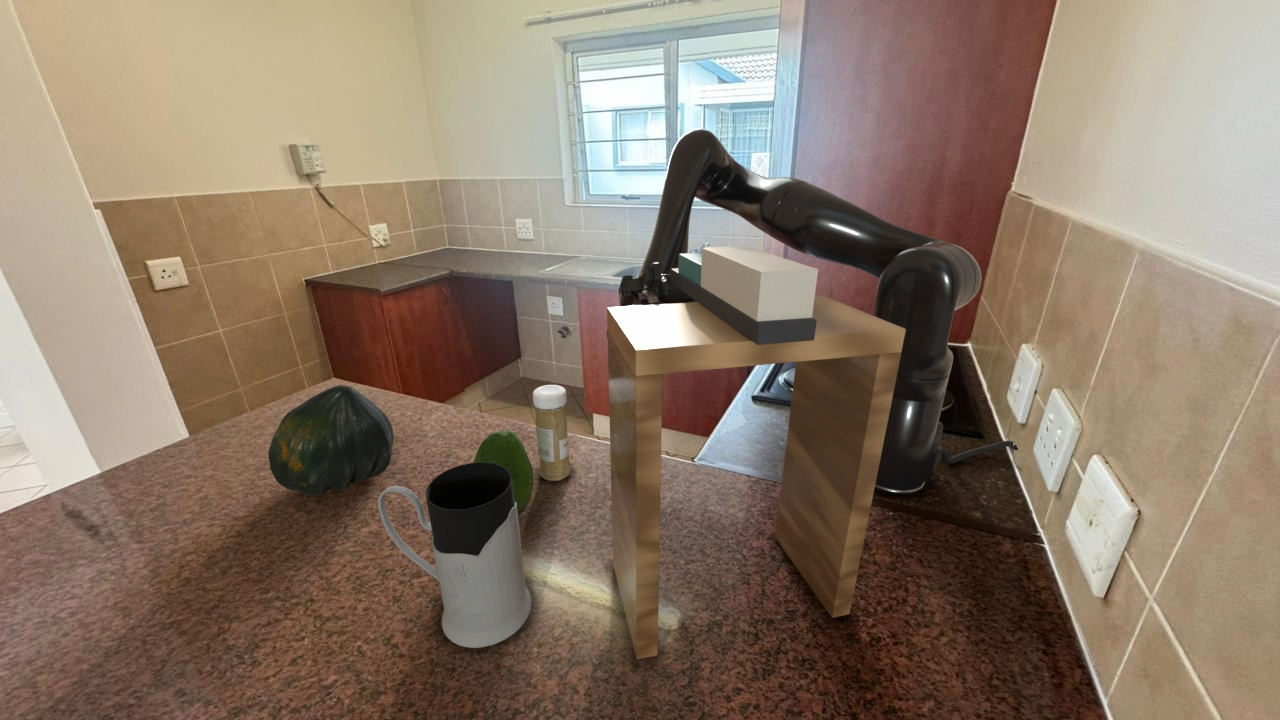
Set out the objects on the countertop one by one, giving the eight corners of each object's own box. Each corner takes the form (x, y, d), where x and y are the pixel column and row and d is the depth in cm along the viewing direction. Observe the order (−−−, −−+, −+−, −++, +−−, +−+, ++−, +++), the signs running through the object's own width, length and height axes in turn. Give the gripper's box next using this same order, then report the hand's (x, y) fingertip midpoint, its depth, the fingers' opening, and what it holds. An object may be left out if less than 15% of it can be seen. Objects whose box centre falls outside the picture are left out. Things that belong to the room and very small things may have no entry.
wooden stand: (790, 535, 61) (821, 294, 51) (849, 614, 50) (906, 328, 40) (613, 565, 56) (606, 307, 46) (636, 660, 46) (635, 350, 35)
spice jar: (576, 475, 73) (571, 391, 68) (547, 486, 71) (540, 399, 66) (562, 461, 77) (557, 381, 72) (534, 470, 74) (527, 388, 69)
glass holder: (510, 654, 46) (493, 520, 41) (372, 631, 48) (338, 502, 43) (543, 582, 54) (533, 463, 49) (423, 565, 56) (401, 449, 51)
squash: (233, 456, 68) (264, 390, 61) (334, 413, 81) (369, 356, 74) (301, 534, 67) (340, 477, 60) (392, 479, 80) (432, 427, 73)
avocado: (548, 505, 67) (542, 425, 62) (510, 542, 60) (500, 455, 56) (500, 490, 70) (491, 413, 65) (459, 524, 63) (446, 440, 59)
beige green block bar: (709, 280, 57) (711, 234, 55) (814, 340, 37) (823, 270, 35) (670, 282, 56) (671, 235, 54) (756, 345, 36) (763, 273, 34)
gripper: (607, 286, 69) (627, 238, 53) (705, 281, 72) (751, 234, 56) (613, 339, 68) (635, 306, 52) (712, 332, 71) (761, 299, 55)
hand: (695, 269), depth 54 cm, fingers open, 8 cm apart
